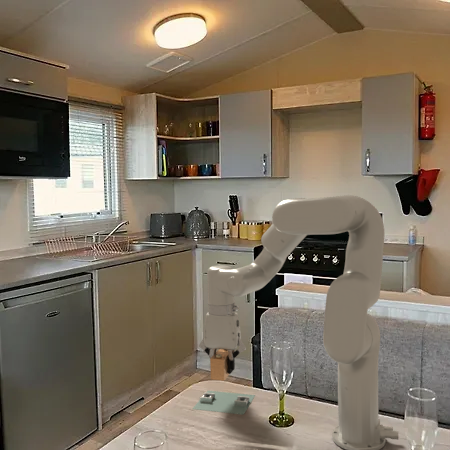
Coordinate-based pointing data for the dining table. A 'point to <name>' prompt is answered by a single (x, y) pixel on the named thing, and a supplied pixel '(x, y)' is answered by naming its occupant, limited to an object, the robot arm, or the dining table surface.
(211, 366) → the wooden block with studs
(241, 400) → the chain ends
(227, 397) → the board
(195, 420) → the dining table surface
